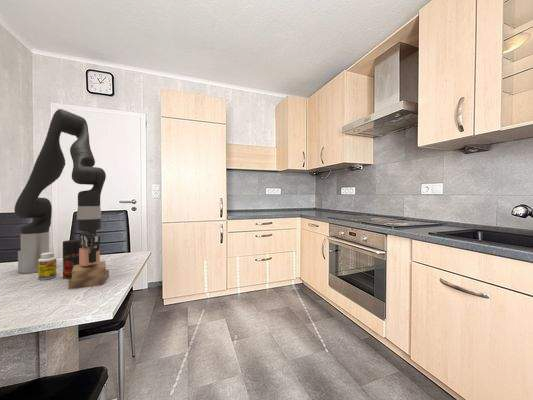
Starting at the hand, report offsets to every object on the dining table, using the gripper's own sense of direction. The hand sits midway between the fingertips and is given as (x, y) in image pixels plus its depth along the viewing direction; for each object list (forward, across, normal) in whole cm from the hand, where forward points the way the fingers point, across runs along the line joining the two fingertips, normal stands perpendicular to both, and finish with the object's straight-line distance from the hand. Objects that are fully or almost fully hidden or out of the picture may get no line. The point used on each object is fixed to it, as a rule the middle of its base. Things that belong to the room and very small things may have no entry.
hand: (89, 261), depth 90 cm
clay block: (+1, 0, 0) cm, 1 cm away
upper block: (+5, 0, 0) cm, 5 cm away
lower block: (+9, 0, 0) cm, 9 cm away
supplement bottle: (+9, +20, +8) cm, 23 cm away
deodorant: (+9, +14, +1) cm, 17 cm away
